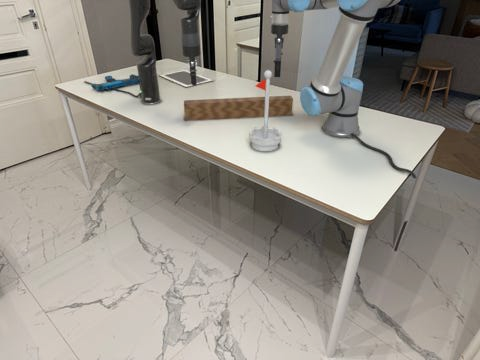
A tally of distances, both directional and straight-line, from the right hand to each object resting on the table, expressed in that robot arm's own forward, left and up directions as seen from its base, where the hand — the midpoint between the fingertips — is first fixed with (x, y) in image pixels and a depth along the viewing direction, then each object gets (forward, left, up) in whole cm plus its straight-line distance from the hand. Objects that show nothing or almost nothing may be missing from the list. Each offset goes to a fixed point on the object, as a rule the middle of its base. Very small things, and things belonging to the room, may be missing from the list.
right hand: (277, 73), depth 160 cm
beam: (+1, +20, -19) cm, 27 cm away
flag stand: (-31, +23, -19) cm, 43 cm away
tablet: (+72, +24, -19) cm, 78 cm away
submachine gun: (+80, +63, -19) cm, 103 cm away
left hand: (+8, +39, -1) cm, 40 cm away
